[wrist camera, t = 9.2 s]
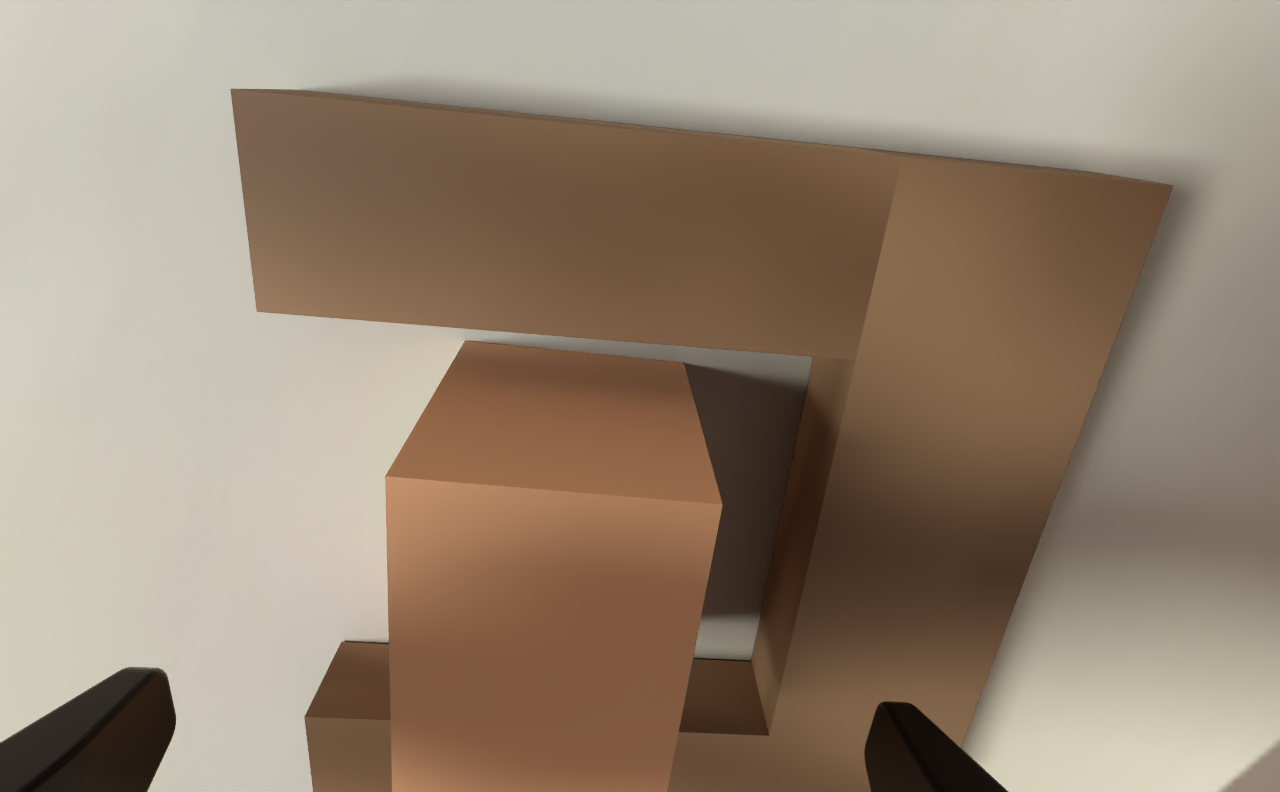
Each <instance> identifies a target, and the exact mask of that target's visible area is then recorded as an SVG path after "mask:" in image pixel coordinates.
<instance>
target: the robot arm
mask: <svg viewBox="0 0 1280 792" xmlns="http://www.w3.org/2000/svg"><path fill="white" fill-rule="evenodd" d="M175 725H176V714H175V709H174V705H173V700H172V695H171V691H170V686H169V681H168V677H167V674H166V673H165V672H164V671H163V670H162V669H159V668H146V667H128V668H125V669H122V670H120V671H118V672H117V673H115V674H113V675H112V676H110V677H108V678H107V679H105V680H103V681H102V682H100V683H98V684H97V685H95V686H93V687H92V688H90V689H88V690H87V691H85V692H83V693H82V694H80V695H78V696H77V697H75V698H73V699H72V700H70V701H68V702H67V703H65V704H64V705H62V706H60V707H59V708H57V709H55V710H54V711H52V712H50V713H49V714H47V715H45V716H44V717H42V718H40V719H39V720H37V721H35V722H34V723H32V724H30V725H29V726H27V727H25V728H24V729H22V730H20V731H19V732H17V733H15V734H14V735H12V736H11V737H9V738H7V739H6V740H4V741H2V742H1V743H0V792H147V791H148V789H149V787H150V784H151V782H152V780H153V778H154V776H155V774H156V771H157V769H158V767H159V765H160V763H161V761H162V759H163V756H164V754H165V752H166V750H167V748H168V746H169V744H170V741H171V739H172V737H173V734H174V730H175ZM864 759H865V766H866V771H867V775H868V780H869V785H870V789H871V792H1008V791H1007V790H1006V789H1005V788H1004V787H1003V786H1002V785H1001V784H999V783H998V782H997V781H996V780H995V779H994V778H993V777H992V776H991V775H990V774H989V773H988V772H986V771H985V770H984V769H983V768H982V767H981V766H980V765H979V764H978V763H977V762H976V761H975V760H973V759H972V758H971V757H970V756H969V755H968V754H967V753H966V752H965V751H964V750H963V749H962V748H960V747H959V746H958V745H957V744H956V743H955V742H954V741H953V740H952V739H951V738H950V737H949V736H947V735H946V734H945V733H944V732H943V731H942V730H941V729H940V728H939V727H938V726H937V725H936V724H934V723H933V722H932V721H931V720H930V719H929V718H928V717H927V716H926V715H925V714H924V713H923V712H921V711H920V710H919V709H918V708H917V707H916V706H914V705H913V704H911V703H908V702H891V701H884V702H881V703H880V704H879V705H878V706H877V708H876V711H875V714H874V717H873V721H872V724H871V727H870V730H869V734H868V737H867V740H866V744H865V750H864Z"/></svg>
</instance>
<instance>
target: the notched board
mask: <svg viewBox="0 0 1280 792" xmlns="http://www.w3.org/2000/svg"><path fill="white" fill-rule="evenodd" d="M231 96H232V105H233V113H234V122H235V130H236V139H237V147H238V156H239V164H240V173H241V181H242V190H243V198H244V207H245V215H246V224H247V232H248V241H249V249H250V258H251V266H252V275H253V283H254V292H255V300H256V309H257V312H267V313H280V314H292V315H304V316H317V317H329V318H342V319H354V320H366V321H379V322H391V323H404V324H416V325H428V326H441V327H453V328H466V329H478V330H490V331H503V332H515V333H527V334H540V335H552V336H565V337H577V338H589V339H602V340H614V341H627V342H639V343H651V344H664V345H676V346H689V347H701V348H713V349H726V350H738V351H751V352H763V353H775V354H788V355H800V356H812V357H813V362H812V367H811V372H810V377H809V382H808V386H807V391H806V396H805V401H804V406H803V411H802V416H801V421H800V425H799V430H798V435H797V440H796V445H795V450H794V455H793V460H792V464H791V469H790V474H789V479H788V484H787V489H786V494H785V499H784V503H783V508H782V513H781V518H780V523H779V528H778V533H777V538H776V542H775V547H774V552H773V557H772V562H771V567H770V572H769V577H768V581H767V586H766V591H765V596H764V601H763V606H762V611H761V616H760V620H759V625H758V630H757V635H756V640H755V645H754V650H753V655H752V659H751V662H746V661H725V660H704V659H693V660H692V665H691V671H690V676H689V681H688V686H687V691H686V696H685V702H684V707H683V712H682V717H681V722H680V727H679V733H678V738H677V743H676V748H675V753H674V758H673V763H672V769H671V774H670V779H669V784H668V789H667V792H871V789H870V785H869V780H868V775H867V771H866V766H865V759H864V750H865V744H866V740H867V737H868V734H869V730H870V727H871V724H872V721H873V717H874V714H875V711H876V708H877V706H878V705H879V704H880V703H881V702H884V701H891V702H908V703H911V704H913V705H914V706H916V707H917V708H918V709H919V710H920V711H921V712H923V713H924V714H925V715H926V716H927V717H928V718H929V719H930V720H931V721H932V722H933V723H934V724H936V725H937V726H938V727H939V728H940V729H941V730H942V731H943V732H944V733H945V734H946V735H947V736H949V737H950V738H951V739H952V740H953V741H954V742H955V743H956V744H957V745H958V746H959V747H960V748H961V746H962V743H963V740H964V738H965V735H966V733H967V730H968V727H969V725H970V722H971V719H972V717H973V714H974V711H975V709H976V706H977V703H978V701H979V698H980V695H981V693H982V690H983V688H984V685H985V682H986V680H987V677H988V674H989V672H990V669H991V666H992V664H993V661H994V658H995V656H996V653H997V650H998V648H999V645H1000V643H1001V640H1002V637H1003V635H1004V632H1005V629H1006V627H1007V624H1008V621H1009V619H1010V616H1011V613H1012V611H1013V608H1014V605H1015V603H1016V600H1017V598H1018V595H1019V592H1020V590H1021V587H1022V584H1023V582H1024V579H1025V576H1026V574H1027V571H1028V568H1029V566H1030V563H1031V560H1032V558H1033V555H1034V553H1035V550H1036V547H1037V545H1038V542H1039V539H1040V537H1041V534H1042V531H1043V529H1044V526H1045V523H1046V521H1047V518H1048V515H1049V513H1050V510H1051V508H1052V505H1053V502H1054V500H1055V497H1056V494H1057V492H1058V489H1059V486H1060V484H1061V481H1062V478H1063V476H1064V473H1065V470H1066V468H1067V465H1068V463H1069V460H1070V457H1071V455H1072V452H1073V449H1074V447H1075V444H1076V441H1077V439H1078V436H1079V433H1080V431H1081V428H1082V426H1083V423H1084V420H1085V418H1086V415H1087V412H1088V410H1089V407H1090V404H1091V402H1092V399H1093V396H1094V394H1095V391H1096V388H1097V386H1098V383H1099V381H1100V378H1101V375H1102V373H1103V370H1104V367H1105V365H1106V362H1107V359H1108V357H1109V354H1110V351H1111V349H1112V346H1113V343H1114V341H1115V338H1116V336H1117V333H1118V330H1119V328H1120V325H1121V322H1122V320H1123V317H1124V314H1125V312H1126V309H1127V306H1128V304H1129V301H1130V298H1131V296H1132V293H1133V291H1134V288H1135V285H1136V283H1137V280H1138V277H1139V275H1140V272H1141V269H1142V267H1143V264H1144V261H1145V259H1146V256H1147V253H1148V251H1149V248H1150V246H1151V243H1152V240H1153V238H1154V235H1155V232H1156V230H1157V227H1158V224H1159V222H1160V219H1161V216H1162V214H1163V211H1164V208H1165V206H1166V203H1167V201H1168V198H1169V195H1170V193H1171V190H1172V187H1173V185H1167V184H1161V183H1155V182H1149V181H1143V180H1137V179H1130V178H1124V177H1118V176H1112V175H1106V174H1100V173H1094V172H1087V171H1078V170H1069V169H1059V168H1049V167H1039V166H1030V165H1020V164H1010V163H1001V162H991V161H981V160H971V159H962V158H952V157H942V156H933V155H923V154H913V153H904V152H894V151H884V150H874V149H865V148H855V147H845V146H836V145H826V144H816V143H807V142H797V141H787V140H777V139H768V138H758V137H748V136H739V135H729V134H719V133H710V132H700V131H690V130H680V129H671V128H661V127H651V126H642V125H632V124H622V123H612V122H603V121H593V120H583V119H574V118H564V117H554V116H545V115H535V114H525V113H515V112H506V111H496V110H486V109H477V108H467V107H457V106H448V105H438V104H428V103H418V102H409V101H399V100H389V99H380V98H370V97H360V96H350V95H341V94H331V93H321V92H312V91H302V90H279V89H231ZM305 725H306V734H307V742H308V751H309V759H310V768H311V776H312V785H313V792H392V762H391V715H390V668H389V644H374V643H353V642H341V644H340V646H339V648H338V650H337V652H336V654H335V656H334V658H333V660H332V662H331V664H330V666H329V668H328V670H327V672H326V674H325V676H324V678H323V680H322V683H321V685H320V687H319V689H318V691H317V693H316V695H315V697H314V699H313V701H312V703H311V705H310V707H309V709H308V711H307V713H306V715H305Z"/></svg>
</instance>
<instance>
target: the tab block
mask: <svg viewBox="0 0 1280 792" xmlns="http://www.w3.org/2000/svg"><path fill="white" fill-rule="evenodd" d="M385 479H386V526H387V573H388V620H389V668H390V715H391V762H392V792H667V789H668V784H669V779H670V774H671V769H672V763H673V758H674V753H675V748H676V743H677V738H678V733H679V727H680V722H681V717H682V712H683V707H684V702H685V696H686V691H687V686H688V681H689V676H690V671H691V665H692V660H693V655H694V650H695V645H696V640H697V635H698V629H699V624H700V619H701V614H702V609H703V604H704V598H705V593H706V588H707V583H708V578H709V573H710V568H711V562H712V557H713V552H714V547H715V542H716V537H717V531H718V526H719V521H720V516H721V511H722V506H723V504H722V501H721V497H720V493H719V490H718V486H717V482H716V479H715V475H714V471H713V468H712V464H711V460H710V457H709V453H708V449H707V446H706V442H705V438H704V435H703V431H702V427H701V424H700V420H699V417H698V413H697V409H696V406H695V402H694V398H693V395H692V391H691V387H690V384H689V380H688V376H687V373H686V369H685V365H684V363H680V362H670V361H660V360H650V359H641V358H631V357H621V356H611V355H601V354H591V353H582V352H572V351H562V350H552V349H542V348H532V347H522V346H513V345H503V344H493V343H483V342H473V341H465V342H464V343H463V345H462V347H461V349H460V350H459V352H458V354H457V355H456V357H455V359H454V361H453V362H452V364H451V366H450V367H449V369H448V371H447V372H446V374H445V376H444V378H443V379H442V381H441V383H440V384H439V386H438V388H437V389H436V391H435V393H434V395H433V396H432V398H431V400H430V401H429V403H428V405H427V406H426V408H425V410H424V412H423V413H422V415H421V417H420V418H419V420H418V422H417V423H416V425H415V427H414V429H413V430H412V432H411V434H410V435H409V437H408V439H407V440H406V442H405V444H404V446H403V447H402V449H401V451H400V452H399V454H398V456H397V457H396V459H395V461H394V463H393V464H392V466H391V468H390V469H389V471H388V473H387V474H386V476H385Z"/></svg>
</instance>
